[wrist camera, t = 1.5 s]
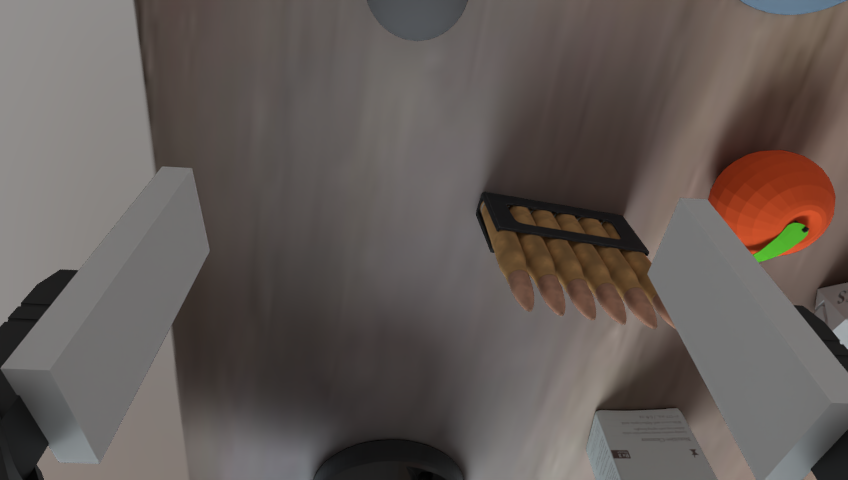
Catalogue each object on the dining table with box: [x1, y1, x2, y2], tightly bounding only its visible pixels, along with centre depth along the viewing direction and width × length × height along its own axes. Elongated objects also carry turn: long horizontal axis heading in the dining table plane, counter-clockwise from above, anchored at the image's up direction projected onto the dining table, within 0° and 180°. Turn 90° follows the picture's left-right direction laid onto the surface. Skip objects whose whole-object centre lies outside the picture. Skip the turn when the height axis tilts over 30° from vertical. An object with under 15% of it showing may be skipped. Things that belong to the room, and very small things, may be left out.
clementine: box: [708, 150, 835, 262], centre depth 35 cm, size 8×7×7 cm
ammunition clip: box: [476, 192, 677, 330], centre depth 33 cm, size 11×2×12 cm, turn 78°
